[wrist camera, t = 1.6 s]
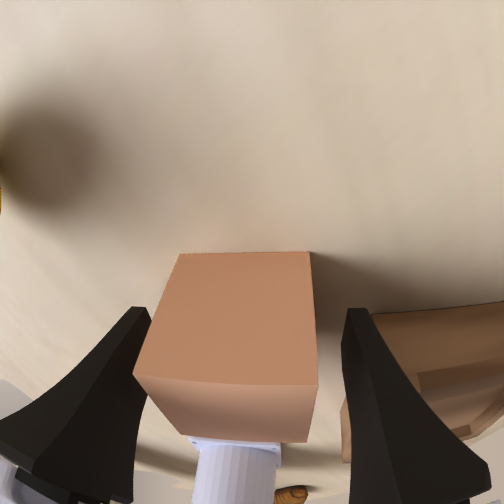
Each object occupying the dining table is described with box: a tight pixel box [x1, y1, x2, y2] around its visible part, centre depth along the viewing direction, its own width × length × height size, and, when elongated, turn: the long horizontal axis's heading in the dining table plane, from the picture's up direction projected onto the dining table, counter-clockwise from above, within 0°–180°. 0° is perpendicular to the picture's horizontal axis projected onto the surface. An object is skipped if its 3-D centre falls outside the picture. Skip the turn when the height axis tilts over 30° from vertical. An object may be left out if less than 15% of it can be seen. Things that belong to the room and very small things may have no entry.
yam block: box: [132, 251, 318, 443], centre depth 10 cm, size 4×4×5 cm
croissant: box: [273, 486, 308, 504], centre depth 39 cm, size 14×7×5 cm, turn 169°
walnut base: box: [340, 302, 504, 464], centre depth 13 cm, size 10×10×4 cm
